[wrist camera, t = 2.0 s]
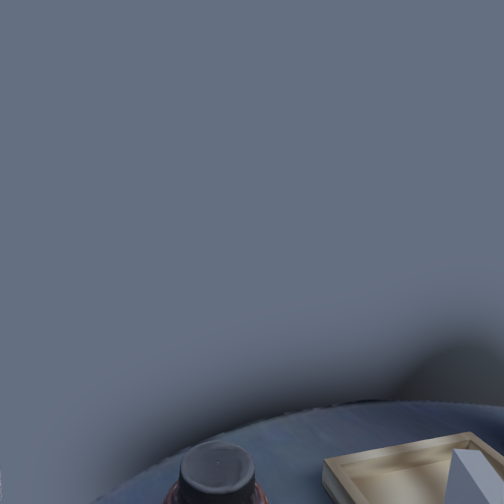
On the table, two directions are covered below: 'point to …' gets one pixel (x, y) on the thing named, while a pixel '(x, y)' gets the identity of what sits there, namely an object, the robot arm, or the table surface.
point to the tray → (401, 471)
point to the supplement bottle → (216, 476)
